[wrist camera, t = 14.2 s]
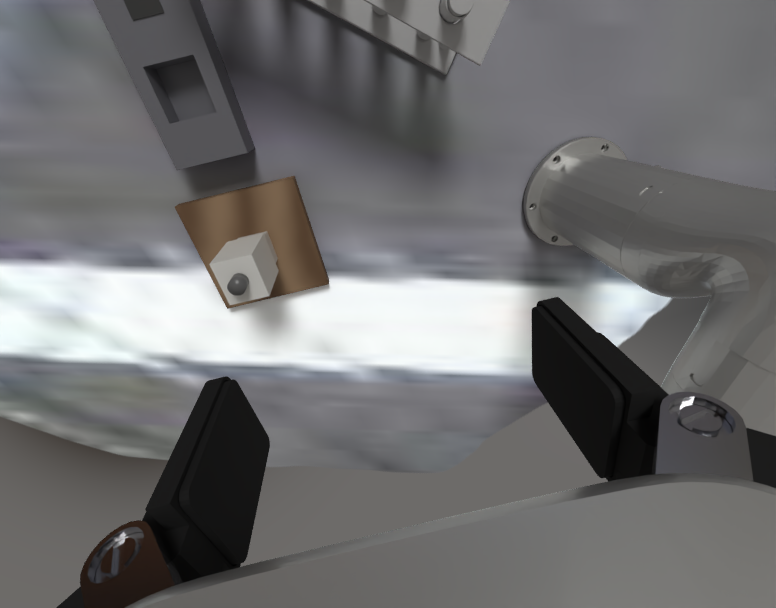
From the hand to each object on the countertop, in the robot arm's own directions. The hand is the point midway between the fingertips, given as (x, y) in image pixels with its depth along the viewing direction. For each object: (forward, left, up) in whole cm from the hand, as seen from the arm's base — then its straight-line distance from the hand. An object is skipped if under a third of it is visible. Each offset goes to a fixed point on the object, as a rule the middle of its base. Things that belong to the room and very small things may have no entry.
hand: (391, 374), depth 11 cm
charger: (+13, +5, -32) cm, 35 cm away
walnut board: (+13, +5, -33) cm, 36 cm away
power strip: (+13, -16, -33) cm, 39 cm away
